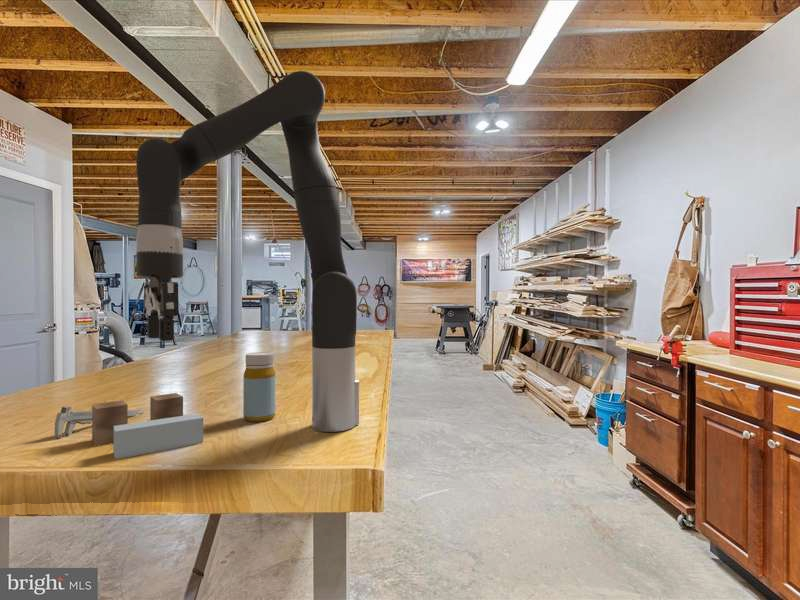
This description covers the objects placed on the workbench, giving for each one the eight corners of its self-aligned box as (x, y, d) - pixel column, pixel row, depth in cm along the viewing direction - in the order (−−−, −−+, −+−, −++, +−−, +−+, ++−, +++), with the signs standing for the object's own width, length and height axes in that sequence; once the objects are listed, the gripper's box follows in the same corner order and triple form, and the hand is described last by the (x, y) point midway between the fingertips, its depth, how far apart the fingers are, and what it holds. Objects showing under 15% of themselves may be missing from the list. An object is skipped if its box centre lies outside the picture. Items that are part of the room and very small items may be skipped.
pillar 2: (176, 424, 92) (176, 392, 92) (183, 429, 88) (183, 396, 89) (150, 429, 89) (150, 396, 89) (156, 434, 85) (156, 400, 85)
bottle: (262, 423, 92) (262, 356, 93) (236, 421, 95) (236, 354, 95) (281, 415, 99) (281, 352, 99) (256, 413, 101) (256, 351, 101)
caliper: (58, 440, 82) (58, 408, 82) (54, 440, 83) (54, 408, 83) (144, 413, 102) (144, 388, 102) (141, 413, 102) (141, 387, 102)
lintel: (198, 438, 83) (198, 413, 83) (203, 443, 80) (203, 417, 80) (113, 454, 75) (113, 426, 75) (114, 460, 72) (114, 431, 72)
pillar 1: (122, 434, 85) (122, 400, 85) (127, 440, 82) (127, 404, 82) (92, 440, 82) (92, 404, 82) (96, 446, 78) (96, 409, 78)
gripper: (194, 250, 75) (194, 340, 75) (171, 256, 86) (171, 336, 85) (146, 246, 70) (146, 343, 70) (128, 253, 80) (128, 338, 80)
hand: (160, 339), depth 78 cm, fingers open, 8 cm apart
